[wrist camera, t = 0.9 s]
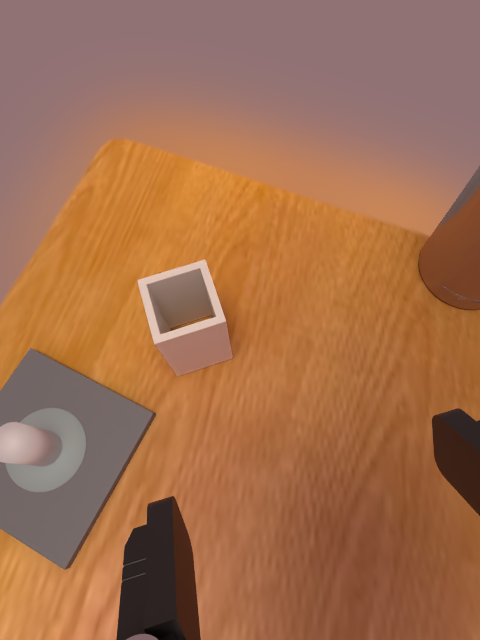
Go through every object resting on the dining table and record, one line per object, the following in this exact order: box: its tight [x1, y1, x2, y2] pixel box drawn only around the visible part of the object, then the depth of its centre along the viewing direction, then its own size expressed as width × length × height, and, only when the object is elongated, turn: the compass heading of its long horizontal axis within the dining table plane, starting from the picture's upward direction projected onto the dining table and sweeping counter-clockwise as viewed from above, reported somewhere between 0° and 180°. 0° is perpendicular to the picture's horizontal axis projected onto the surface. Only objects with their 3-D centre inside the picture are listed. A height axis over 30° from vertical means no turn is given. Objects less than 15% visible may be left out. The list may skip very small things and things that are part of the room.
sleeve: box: [137, 260, 233, 377], centre depth 38 cm, size 6×6×10 cm
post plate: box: [0, 348, 156, 570], centre depth 36 cm, size 14×14×7 cm
